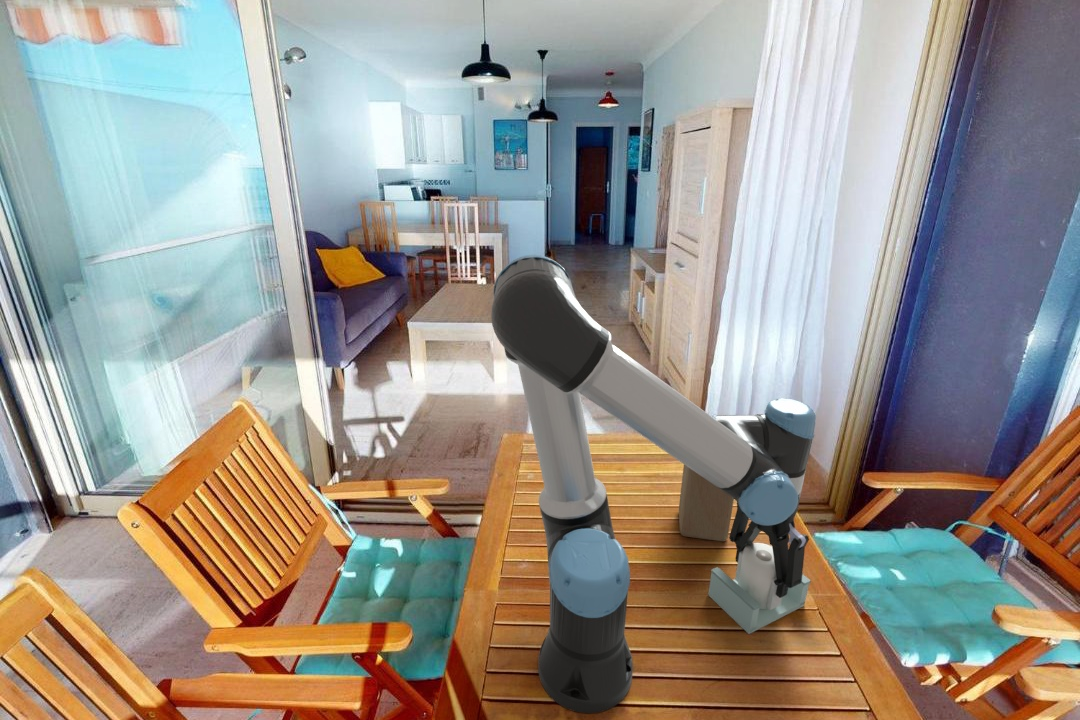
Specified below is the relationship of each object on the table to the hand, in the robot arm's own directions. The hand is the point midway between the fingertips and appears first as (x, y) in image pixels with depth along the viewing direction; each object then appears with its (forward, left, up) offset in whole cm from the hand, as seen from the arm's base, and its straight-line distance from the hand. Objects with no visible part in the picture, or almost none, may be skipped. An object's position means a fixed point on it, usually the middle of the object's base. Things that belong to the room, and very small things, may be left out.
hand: (757, 591), depth 103 cm
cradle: (0, 0, -2) cm, 2 cm away
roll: (0, 0, -1) cm, 1 cm away
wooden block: (+6, +21, -2) cm, 22 cm away
